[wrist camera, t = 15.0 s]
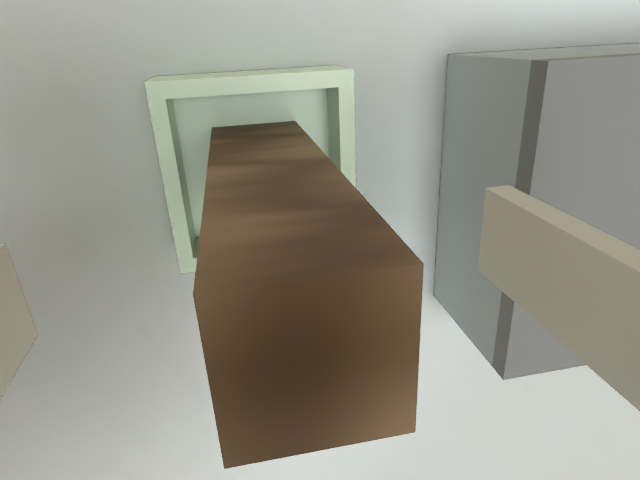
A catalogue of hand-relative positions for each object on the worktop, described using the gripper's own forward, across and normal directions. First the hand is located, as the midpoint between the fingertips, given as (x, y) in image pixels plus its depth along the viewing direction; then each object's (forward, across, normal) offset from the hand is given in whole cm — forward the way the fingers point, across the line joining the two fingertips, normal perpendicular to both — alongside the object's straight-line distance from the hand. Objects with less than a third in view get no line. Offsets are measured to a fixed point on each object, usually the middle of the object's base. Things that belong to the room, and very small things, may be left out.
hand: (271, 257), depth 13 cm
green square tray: (+12, +1, 0) cm, 12 cm away
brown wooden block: (+11, +1, 0) cm, 11 cm away
